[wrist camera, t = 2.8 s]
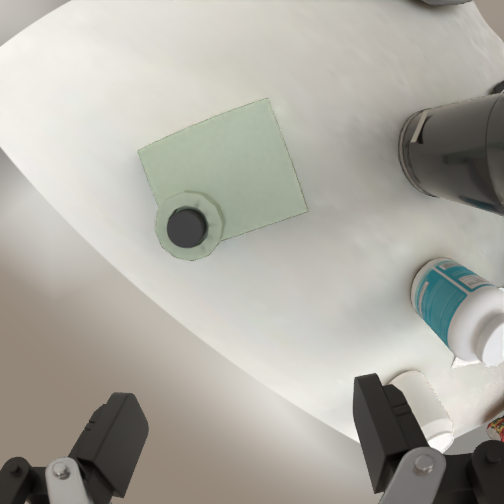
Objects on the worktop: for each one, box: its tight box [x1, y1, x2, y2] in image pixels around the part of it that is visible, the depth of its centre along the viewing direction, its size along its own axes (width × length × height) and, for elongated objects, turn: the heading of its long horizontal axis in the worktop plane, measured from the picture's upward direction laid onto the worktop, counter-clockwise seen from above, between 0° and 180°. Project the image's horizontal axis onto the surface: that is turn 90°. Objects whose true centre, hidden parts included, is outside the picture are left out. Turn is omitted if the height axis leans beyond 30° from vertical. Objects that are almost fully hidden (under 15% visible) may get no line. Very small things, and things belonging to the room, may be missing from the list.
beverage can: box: [389, 371, 454, 453], centre depth 30 cm, size 6×6×12 cm
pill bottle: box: [411, 258, 504, 367], centre depth 25 cm, size 8×7×14 cm
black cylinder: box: [167, 209, 206, 248], centre depth 27 cm, size 3×3×2 cm
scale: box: [138, 98, 308, 261], centre depth 28 cm, size 14×12×4 cm
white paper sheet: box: [452, 288, 504, 368], centre depth 32 cm, size 12×12×2 cm
